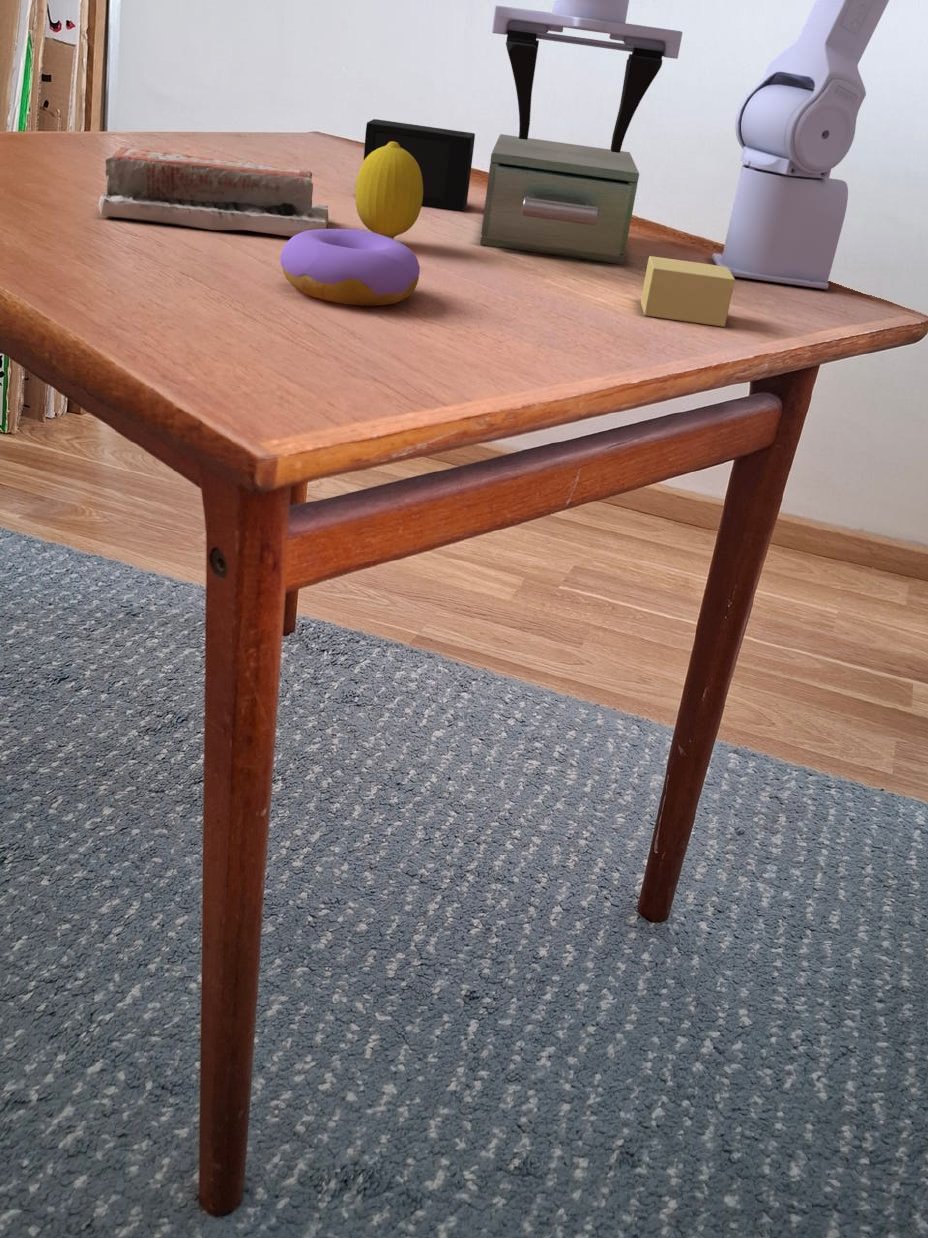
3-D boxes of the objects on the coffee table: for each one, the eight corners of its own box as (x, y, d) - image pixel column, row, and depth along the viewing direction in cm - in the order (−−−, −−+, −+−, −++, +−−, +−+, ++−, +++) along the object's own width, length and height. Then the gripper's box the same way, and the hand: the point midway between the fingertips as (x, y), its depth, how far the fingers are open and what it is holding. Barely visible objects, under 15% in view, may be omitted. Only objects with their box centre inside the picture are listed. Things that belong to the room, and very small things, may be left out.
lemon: (408, 254, 97) (419, 149, 93) (343, 243, 98) (351, 139, 94) (424, 243, 102) (434, 143, 98) (361, 232, 103) (369, 133, 99)
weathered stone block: (95, 153, 92) (118, 137, 101) (96, 218, 94) (119, 197, 103) (329, 180, 94) (332, 162, 103) (325, 243, 97) (328, 220, 105)
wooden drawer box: (622, 264, 104) (639, 173, 101) (479, 244, 104) (491, 152, 101) (615, 233, 118) (630, 151, 115) (489, 215, 118) (499, 133, 115)
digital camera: (469, 203, 123) (477, 131, 120) (463, 211, 119) (472, 136, 115) (369, 189, 124) (375, 116, 120) (360, 196, 119) (366, 121, 116)
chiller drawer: (621, 268, 98) (634, 194, 95) (483, 249, 98) (493, 174, 95) (612, 228, 115) (623, 164, 112) (495, 211, 115) (503, 147, 113)
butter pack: (717, 312, 92) (727, 266, 90) (724, 327, 88) (735, 278, 86) (640, 301, 92) (649, 255, 90) (643, 315, 88) (653, 267, 86)
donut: (249, 271, 83) (265, 200, 82) (356, 293, 89) (373, 228, 88) (324, 309, 77) (343, 232, 75) (435, 330, 83) (454, 260, 81)
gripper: (501, -63, 87) (477, 136, 93) (699, -35, 87) (661, 162, 93) (505, -59, 93) (482, 128, 100) (689, -33, 93) (655, 152, 99)
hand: (569, 144), depth 97 cm, fingers open, 7 cm apart
